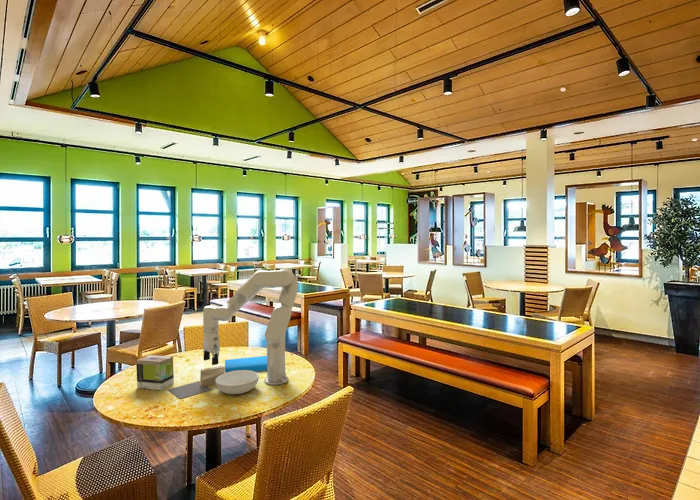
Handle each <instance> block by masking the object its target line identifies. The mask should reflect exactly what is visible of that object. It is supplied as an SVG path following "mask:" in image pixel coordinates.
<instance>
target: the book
mask: <svg viewBox="0 0 700 500" xmlns="http://www.w3.org/2000/svg"><path fill="white" fill-rule="evenodd" d="M224 367H225V373H227V372H231V371H237V370H250V371H254V372H256V373H258V372H264V371H265V370H266V371H267V355H262V356H261V355H260V356H250V357H243V358H241V357H240V358H233V359H230V358H229V359H225V360H224Z"/></svg>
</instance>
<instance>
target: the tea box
mask: <svg viewBox="0 0 700 500" xmlns="http://www.w3.org/2000/svg"><path fill="white" fill-rule="evenodd" d="M135 361H136V362H135V365H136V366H135V368H136V369H135V370H136V386H137V387H139V388H138V389H144V388H145V390H154V391H155V390H156V391H163V390H165V389H166V388H168V387H170V386H171V385H174V383H175V381H174V380H175V378H174V377H175V375H174V356H169V355H157V354H156V355H155V354H149V355H145V356H144V357H141V358H138V359H136V360H135ZM137 387H136V388H137Z"/></svg>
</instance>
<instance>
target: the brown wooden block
mask: <svg viewBox="0 0 700 500" xmlns="http://www.w3.org/2000/svg"><path fill="white" fill-rule="evenodd" d="M224 373H225V365H219V366H213V367H208V368H203V369H200V376H199V382H200V386H202V387H203V386H208V387H209V386H211V385H216V382H215V380H216V378H217V377H218V376H220V375H222V374H224Z"/></svg>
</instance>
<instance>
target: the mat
mask: <svg viewBox="0 0 700 500" xmlns="http://www.w3.org/2000/svg"><path fill="white" fill-rule="evenodd" d="M212 390H213V388H211V387H209V385H208V386H203V387H202V386H200V380H197V381H194V382H190V383H186V384H183V385H180V386H177V387H172V388H169V389H167V391H168V392H169V393H171V394H172V395H174V396H175V397H176V398H177V399H179V400H183V399H186V398H189V397H192V396H193V397H194V396H196V395H199V394H202V393H203V394H204V393H206V392H211V391H212Z"/></svg>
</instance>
